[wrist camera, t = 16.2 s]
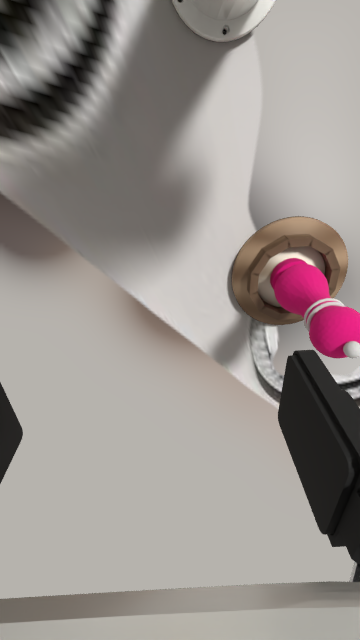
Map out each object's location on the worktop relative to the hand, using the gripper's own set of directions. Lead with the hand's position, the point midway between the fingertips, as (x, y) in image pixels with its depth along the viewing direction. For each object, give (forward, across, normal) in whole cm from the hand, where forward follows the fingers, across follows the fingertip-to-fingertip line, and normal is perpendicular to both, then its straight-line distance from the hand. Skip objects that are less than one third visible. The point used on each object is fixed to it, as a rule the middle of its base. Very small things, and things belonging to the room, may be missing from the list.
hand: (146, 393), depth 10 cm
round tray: (+38, -19, +13) cm, 45 cm away
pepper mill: (+37, -19, +13) cm, 44 cm away
